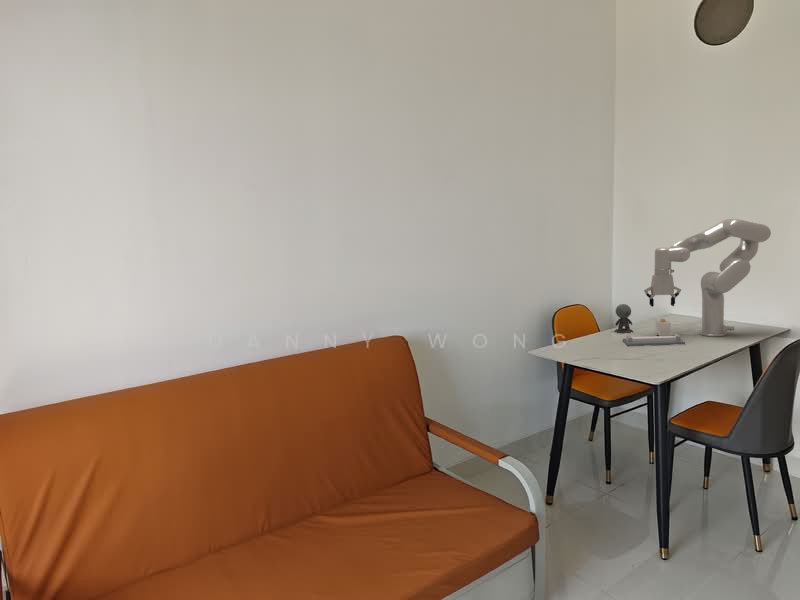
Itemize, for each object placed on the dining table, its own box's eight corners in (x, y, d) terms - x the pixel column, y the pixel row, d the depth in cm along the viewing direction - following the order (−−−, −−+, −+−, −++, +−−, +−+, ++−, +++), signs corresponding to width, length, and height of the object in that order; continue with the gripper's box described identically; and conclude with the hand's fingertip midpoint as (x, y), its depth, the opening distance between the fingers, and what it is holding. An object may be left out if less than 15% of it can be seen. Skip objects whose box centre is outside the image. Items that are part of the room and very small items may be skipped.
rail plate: (677, 339, 274) (677, 332, 273) (685, 344, 263) (685, 337, 262) (622, 340, 278) (622, 334, 278) (627, 346, 268) (627, 339, 267)
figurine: (629, 329, 302) (629, 302, 300) (635, 333, 293) (634, 305, 290) (613, 330, 303) (612, 303, 301) (618, 334, 293) (618, 306, 291)
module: (666, 334, 285) (666, 317, 283) (670, 338, 277) (670, 320, 276) (655, 334, 286) (655, 318, 284) (660, 338, 278) (660, 321, 277)
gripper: (678, 271, 279) (678, 304, 281) (642, 272, 282) (642, 305, 284) (683, 272, 271) (682, 306, 274) (646, 273, 274) (645, 307, 277)
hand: (662, 305), depth 279 cm, fingers open, 9 cm apart
